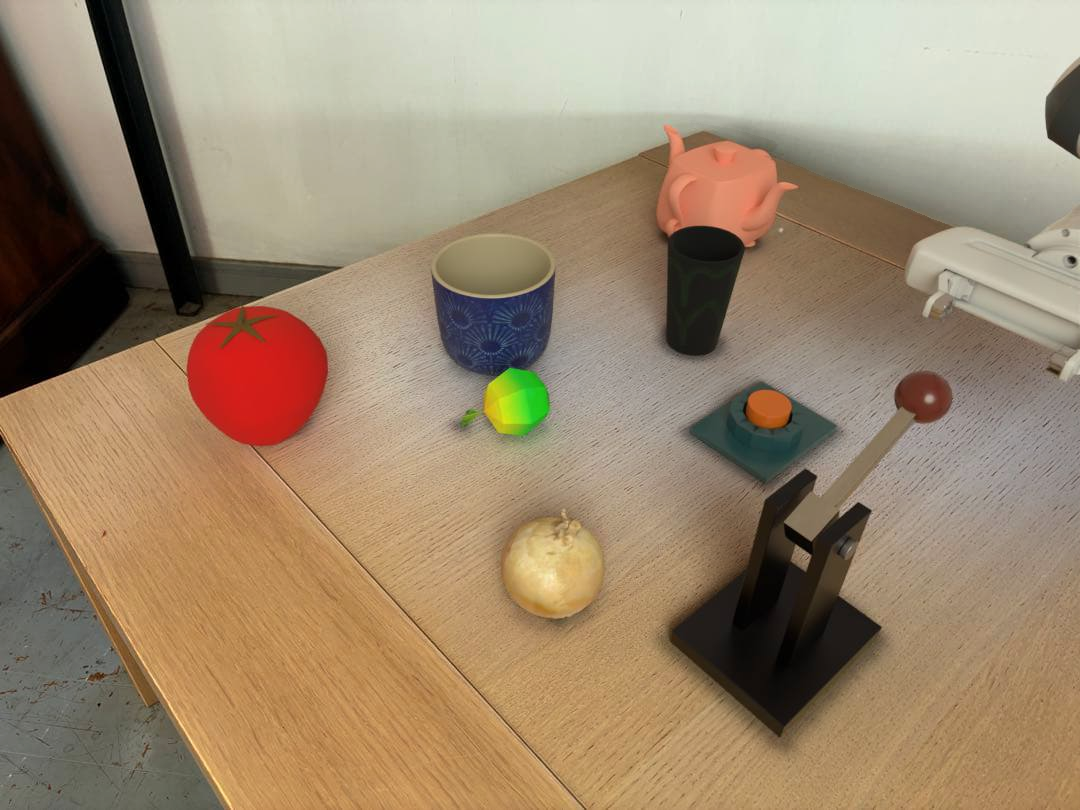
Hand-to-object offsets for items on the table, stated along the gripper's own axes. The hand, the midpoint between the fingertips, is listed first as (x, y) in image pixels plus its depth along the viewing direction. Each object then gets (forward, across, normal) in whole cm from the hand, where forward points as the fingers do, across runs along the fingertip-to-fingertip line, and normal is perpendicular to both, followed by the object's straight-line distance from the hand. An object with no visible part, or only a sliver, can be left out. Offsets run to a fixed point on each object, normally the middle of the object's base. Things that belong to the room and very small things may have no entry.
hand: (992, 339), depth 60 cm
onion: (+30, -14, +18) cm, 38 cm away
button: (+2, -15, +16) cm, 22 cm away
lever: (+14, 0, +4) cm, 15 cm away
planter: (+14, -42, +18) cm, 48 cm away
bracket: (+20, 0, +18) cm, 27 cm away
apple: (+21, -31, +18) cm, 42 cm away
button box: (+2, -15, +18) cm, 24 cm away
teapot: (-23, -42, +18) cm, 52 cm away
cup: (-4, -29, +18) cm, 35 cm away
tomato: (+37, -46, +18) cm, 62 cm away
